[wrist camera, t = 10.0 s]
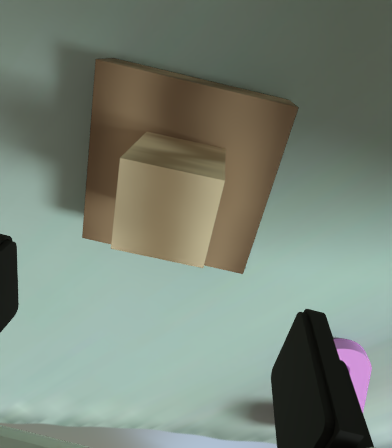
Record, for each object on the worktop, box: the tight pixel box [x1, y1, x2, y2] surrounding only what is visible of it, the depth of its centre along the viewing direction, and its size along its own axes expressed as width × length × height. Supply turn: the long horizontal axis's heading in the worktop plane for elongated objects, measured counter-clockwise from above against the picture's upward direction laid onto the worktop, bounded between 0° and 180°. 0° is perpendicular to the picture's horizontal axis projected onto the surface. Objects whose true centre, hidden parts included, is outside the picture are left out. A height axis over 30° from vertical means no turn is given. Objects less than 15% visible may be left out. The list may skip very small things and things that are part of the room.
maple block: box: [111, 132, 226, 268], centre depth 20 cm, size 5×5×6 cm
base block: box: [82, 58, 299, 274], centre depth 25 cm, size 12×12×4 cm
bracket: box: [333, 339, 372, 413], centre depth 32 cm, size 13×6×7 cm, turn 4°
